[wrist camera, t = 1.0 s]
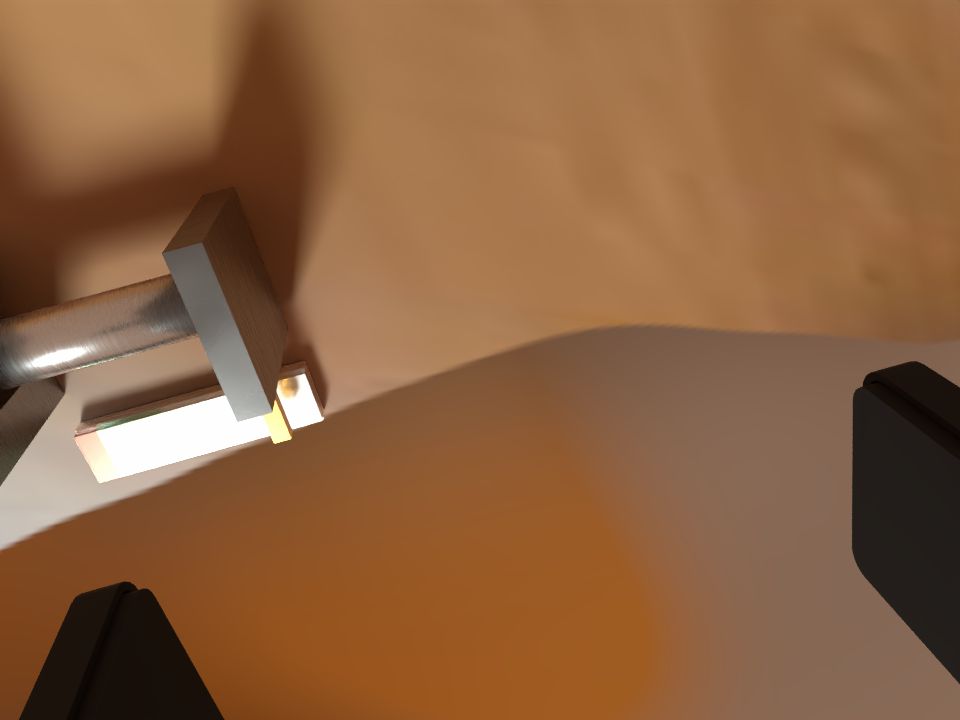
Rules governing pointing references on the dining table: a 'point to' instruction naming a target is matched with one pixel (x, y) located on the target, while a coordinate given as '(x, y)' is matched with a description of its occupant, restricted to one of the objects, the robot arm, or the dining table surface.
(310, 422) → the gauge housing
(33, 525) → the dining table surface
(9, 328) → the plunger
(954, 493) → the robot arm
